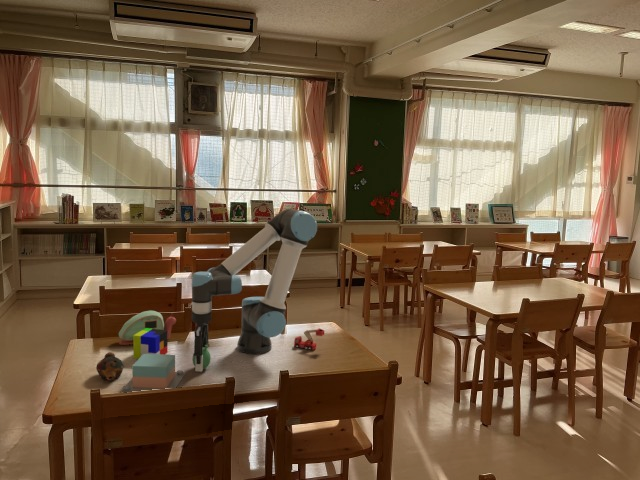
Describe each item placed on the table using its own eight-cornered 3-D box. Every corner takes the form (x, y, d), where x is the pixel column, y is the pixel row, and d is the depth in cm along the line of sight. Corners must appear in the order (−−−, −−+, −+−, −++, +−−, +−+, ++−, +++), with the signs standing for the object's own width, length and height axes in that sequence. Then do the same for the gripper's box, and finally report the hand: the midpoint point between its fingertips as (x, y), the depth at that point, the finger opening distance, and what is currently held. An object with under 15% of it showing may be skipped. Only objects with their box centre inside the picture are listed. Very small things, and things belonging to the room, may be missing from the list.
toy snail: (119, 347, 231) (118, 316, 229) (117, 341, 238) (117, 311, 236) (177, 340, 242) (177, 311, 240) (174, 335, 249) (174, 306, 247)
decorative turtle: (120, 367, 209) (121, 348, 207) (126, 385, 196) (127, 364, 194) (93, 370, 204) (94, 350, 203) (98, 388, 191) (98, 367, 190)
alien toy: (209, 364, 216) (209, 340, 214) (211, 371, 208) (211, 347, 207) (192, 365, 214) (192, 341, 212) (192, 372, 206) (192, 348, 205)
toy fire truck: (296, 344, 242) (296, 324, 240) (323, 349, 237) (324, 329, 235) (293, 347, 239) (293, 326, 237) (321, 352, 234) (322, 331, 232)
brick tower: (185, 374, 205) (185, 352, 204) (172, 394, 187) (172, 370, 186) (138, 372, 205) (138, 350, 204) (121, 392, 187) (120, 368, 186)
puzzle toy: (155, 361, 217) (155, 337, 215) (133, 358, 219) (133, 335, 217) (167, 352, 227) (167, 330, 225) (146, 350, 229) (145, 328, 227)
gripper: (198, 304, 218) (197, 357, 221) (185, 318, 197) (185, 376, 201) (216, 304, 218) (215, 357, 221) (205, 319, 197) (205, 377, 201)
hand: (201, 366), depth 211 cm, fingers closed on alien toy, 8 cm apart
